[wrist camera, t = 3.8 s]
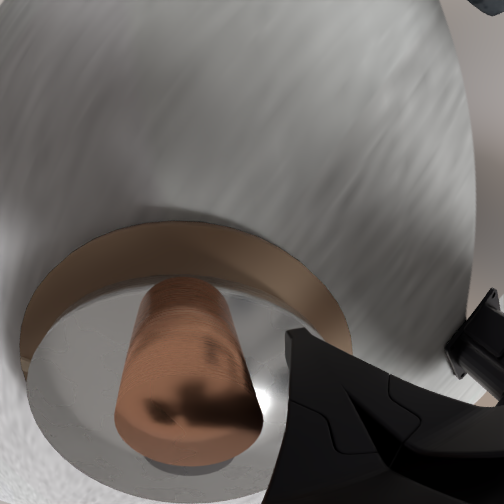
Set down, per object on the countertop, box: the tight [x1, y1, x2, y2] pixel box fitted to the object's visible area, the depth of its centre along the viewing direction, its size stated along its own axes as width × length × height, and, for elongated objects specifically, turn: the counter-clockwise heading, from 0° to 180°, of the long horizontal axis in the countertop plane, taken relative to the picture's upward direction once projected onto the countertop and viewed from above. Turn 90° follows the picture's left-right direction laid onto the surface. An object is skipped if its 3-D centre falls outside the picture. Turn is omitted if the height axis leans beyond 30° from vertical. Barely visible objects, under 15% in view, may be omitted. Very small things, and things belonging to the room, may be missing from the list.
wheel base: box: [20, 221, 352, 382], centre depth 14 cm, size 18×18×1 cm
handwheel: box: [27, 274, 325, 503], centre depth 10 cm, size 16×15×7 cm
